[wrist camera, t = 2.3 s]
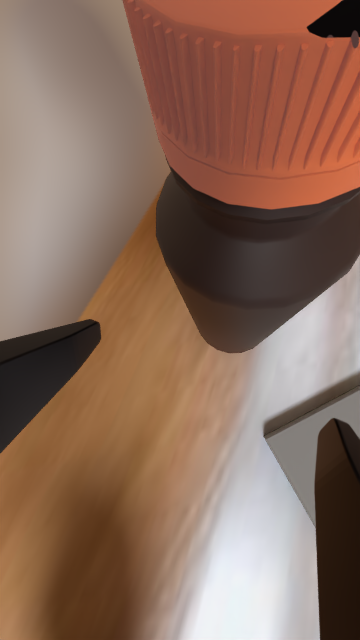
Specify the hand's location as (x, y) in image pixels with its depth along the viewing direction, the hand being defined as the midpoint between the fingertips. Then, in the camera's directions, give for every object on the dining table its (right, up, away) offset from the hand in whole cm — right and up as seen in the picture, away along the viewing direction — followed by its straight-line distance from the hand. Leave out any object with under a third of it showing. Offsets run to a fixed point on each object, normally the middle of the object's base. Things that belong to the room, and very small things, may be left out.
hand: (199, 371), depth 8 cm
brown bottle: (+4, +2, +13) cm, 14 cm away
